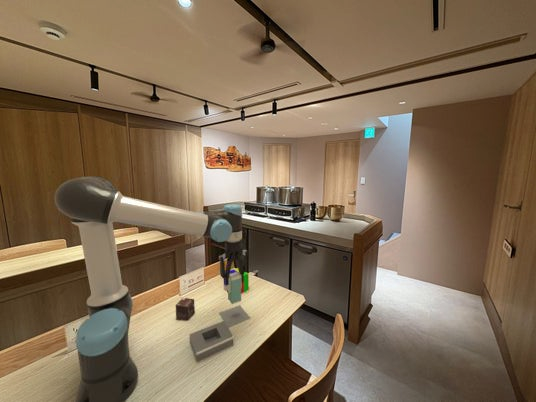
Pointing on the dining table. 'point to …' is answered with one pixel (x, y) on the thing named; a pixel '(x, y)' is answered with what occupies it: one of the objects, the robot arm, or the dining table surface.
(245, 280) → the puzzle toy
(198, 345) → the frame
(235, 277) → the plug
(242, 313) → the mat
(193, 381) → the dining table surface
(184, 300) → the box
